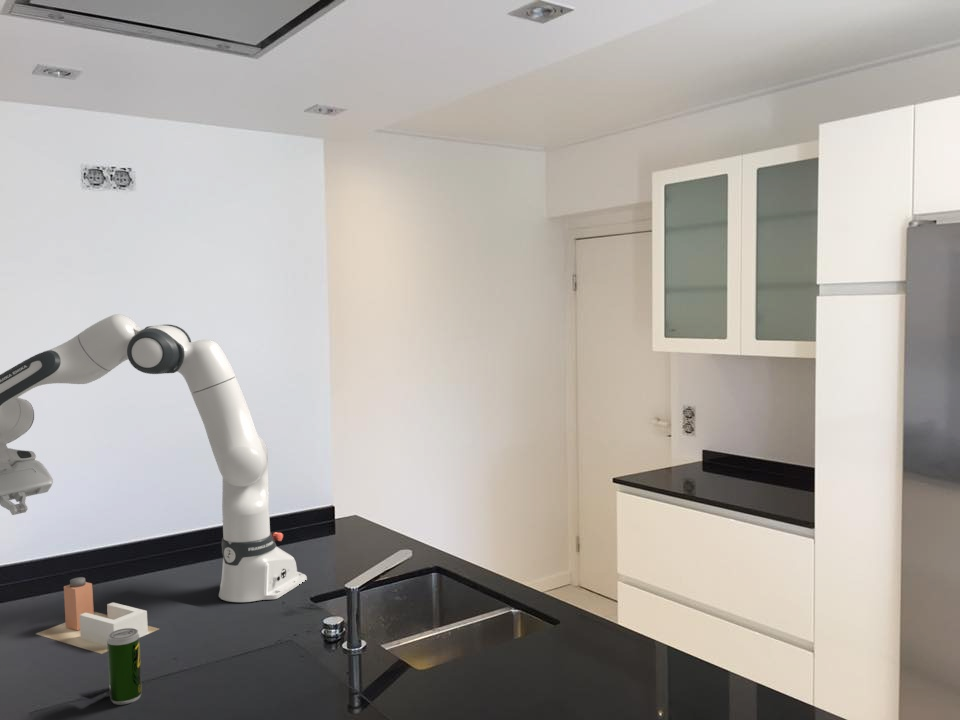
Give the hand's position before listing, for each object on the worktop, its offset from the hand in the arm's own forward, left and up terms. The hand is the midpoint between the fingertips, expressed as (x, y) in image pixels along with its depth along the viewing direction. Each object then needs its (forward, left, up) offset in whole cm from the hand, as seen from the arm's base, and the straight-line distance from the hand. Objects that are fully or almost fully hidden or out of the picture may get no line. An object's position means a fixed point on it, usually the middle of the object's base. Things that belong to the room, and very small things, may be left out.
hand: (20, 512), depth 185 cm
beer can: (+15, +55, -25) cm, 62 cm away
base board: (0, +26, -25) cm, 36 cm away
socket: (0, +31, -23) cm, 38 cm away
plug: (0, +20, -23) cm, 30 cm away
